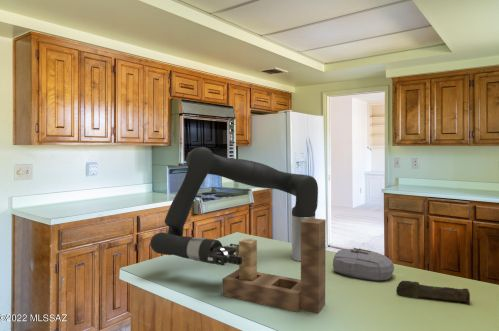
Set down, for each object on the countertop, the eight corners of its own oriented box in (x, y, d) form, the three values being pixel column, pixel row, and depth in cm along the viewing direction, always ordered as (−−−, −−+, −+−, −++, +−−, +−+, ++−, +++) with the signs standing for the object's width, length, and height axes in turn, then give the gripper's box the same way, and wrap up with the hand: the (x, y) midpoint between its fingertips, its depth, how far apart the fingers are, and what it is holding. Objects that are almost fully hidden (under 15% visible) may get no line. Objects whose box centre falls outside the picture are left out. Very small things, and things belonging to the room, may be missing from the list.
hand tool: (467, 300, 103) (467, 284, 103) (470, 306, 99) (471, 289, 99) (396, 292, 109) (396, 277, 109) (396, 297, 105) (396, 281, 105)
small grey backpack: (328, 274, 124) (388, 287, 113) (328, 250, 124) (388, 260, 113) (343, 263, 137) (399, 273, 125) (343, 241, 136) (399, 249, 125)
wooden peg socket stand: (222, 295, 107) (221, 215, 106) (239, 283, 116) (238, 210, 115) (316, 316, 93) (316, 225, 92) (327, 301, 102) (327, 218, 101)
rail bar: (239, 290, 108) (238, 241, 107) (245, 286, 111) (245, 238, 111) (251, 293, 106) (250, 243, 105) (257, 288, 109) (256, 240, 109)
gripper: (190, 243, 109) (236, 250, 101) (216, 233, 122) (259, 239, 114) (190, 268, 110) (236, 276, 102) (216, 255, 122) (259, 262, 114)
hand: (248, 257), depth 108 cm, fingers open, 8 cm apart
